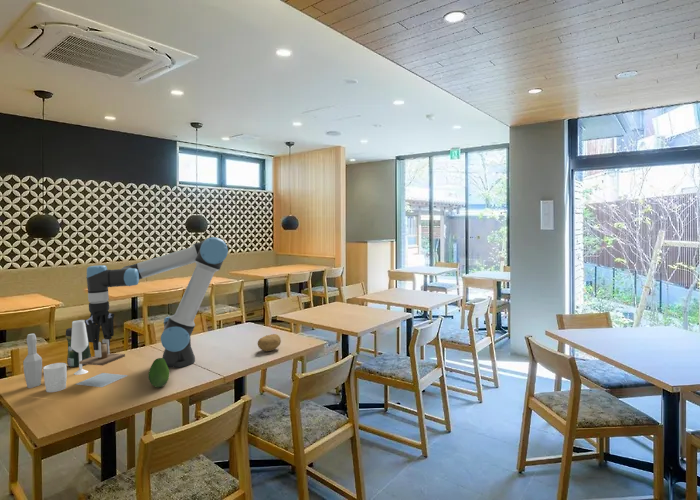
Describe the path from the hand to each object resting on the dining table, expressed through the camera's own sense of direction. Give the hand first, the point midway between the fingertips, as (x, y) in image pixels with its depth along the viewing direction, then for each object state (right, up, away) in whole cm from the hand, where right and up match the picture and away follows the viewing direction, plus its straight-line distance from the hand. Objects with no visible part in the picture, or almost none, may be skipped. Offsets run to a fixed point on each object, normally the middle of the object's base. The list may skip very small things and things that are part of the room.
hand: (102, 355), depth 181 cm
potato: (+64, -8, +42) cm, 77 cm away
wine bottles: (-24, -10, +22) cm, 35 cm away
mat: (0, -11, 0) cm, 11 cm away
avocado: (+28, -11, -7) cm, 31 cm away
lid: (0, -2, 0) cm, 2 cm away
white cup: (-13, -12, -9) cm, 20 cm away
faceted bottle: (-26, -12, -5) cm, 29 cm away
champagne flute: (-15, -11, +10) cm, 21 cm away
